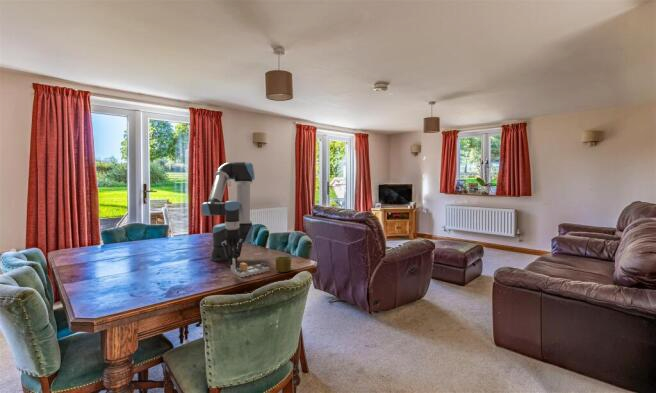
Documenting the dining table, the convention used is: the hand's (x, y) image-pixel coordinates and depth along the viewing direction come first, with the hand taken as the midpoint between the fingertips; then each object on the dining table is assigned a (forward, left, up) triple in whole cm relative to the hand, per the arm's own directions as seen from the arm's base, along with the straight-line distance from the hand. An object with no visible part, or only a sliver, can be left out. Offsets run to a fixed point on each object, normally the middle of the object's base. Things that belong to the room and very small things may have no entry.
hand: (233, 270), depth 179 cm
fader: (0, +6, -1) cm, 7 cm away
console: (0, +11, -4) cm, 12 cm away
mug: (+9, +28, -4) cm, 30 cm away
